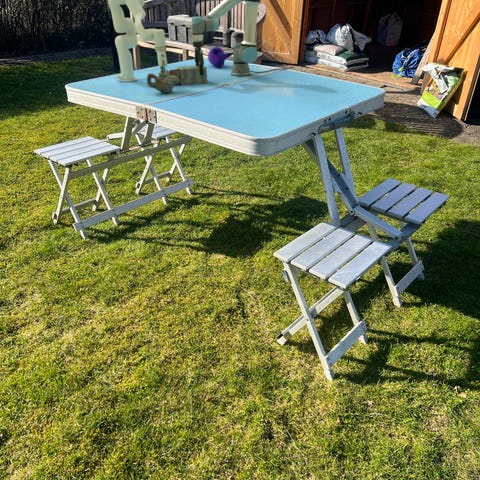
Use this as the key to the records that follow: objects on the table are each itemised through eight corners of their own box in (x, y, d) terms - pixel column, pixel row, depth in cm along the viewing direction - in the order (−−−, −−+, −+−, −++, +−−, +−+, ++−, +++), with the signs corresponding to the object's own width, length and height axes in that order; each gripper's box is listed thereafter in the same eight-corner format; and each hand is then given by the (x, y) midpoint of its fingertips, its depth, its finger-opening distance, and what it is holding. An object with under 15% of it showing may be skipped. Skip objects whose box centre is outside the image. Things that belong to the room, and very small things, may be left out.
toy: (218, 69, 373) (208, 68, 396) (237, 62, 376) (226, 61, 399) (212, 50, 365) (203, 50, 388) (232, 42, 368) (221, 43, 392)
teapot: (178, 89, 310) (176, 66, 303) (181, 93, 301) (179, 69, 293) (147, 92, 305) (144, 69, 297) (149, 95, 295) (147, 71, 288)
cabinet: (181, 85, 324) (180, 69, 318) (178, 82, 332) (177, 67, 327) (207, 83, 329) (206, 67, 323) (203, 80, 337) (202, 65, 332)
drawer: (161, 85, 320) (160, 72, 315) (159, 83, 327) (157, 70, 323) (193, 82, 326) (193, 69, 322) (190, 80, 334) (190, 67, 329)
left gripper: (168, 49, 307) (170, 77, 316) (163, 47, 319) (166, 74, 328) (157, 50, 305) (160, 78, 314) (153, 48, 317) (156, 75, 326)
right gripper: (207, 42, 309) (209, 76, 321) (199, 39, 328) (200, 70, 339) (196, 43, 307) (198, 76, 319) (189, 39, 326) (191, 71, 337)
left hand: (163, 76), depth 321 cm, fingers closed
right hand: (199, 73), depth 329 cm, fingers closed on cabinet, 10 cm apart
